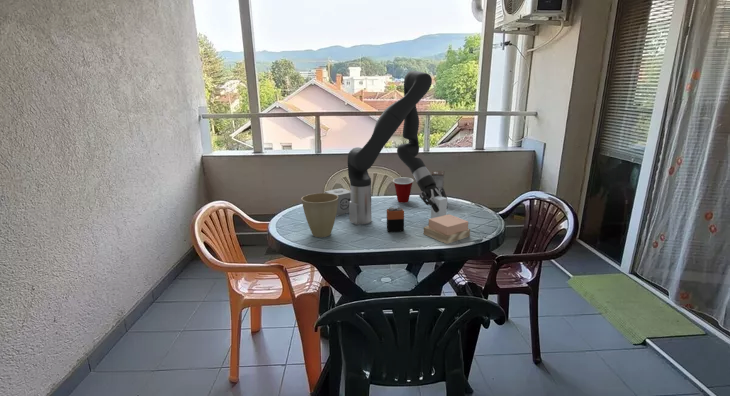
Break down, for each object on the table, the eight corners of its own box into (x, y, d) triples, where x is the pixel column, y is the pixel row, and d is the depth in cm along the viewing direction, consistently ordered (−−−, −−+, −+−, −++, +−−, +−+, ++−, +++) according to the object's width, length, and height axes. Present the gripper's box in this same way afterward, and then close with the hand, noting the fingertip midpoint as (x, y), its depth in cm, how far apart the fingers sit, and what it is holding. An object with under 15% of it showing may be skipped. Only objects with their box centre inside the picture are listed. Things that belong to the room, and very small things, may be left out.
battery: (386, 228, 160) (386, 206, 157) (402, 228, 161) (402, 205, 158) (388, 232, 156) (388, 209, 153) (404, 231, 156) (404, 209, 154)
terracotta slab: (447, 235, 144) (447, 226, 143) (428, 227, 153) (428, 219, 152) (467, 229, 149) (468, 221, 148) (448, 222, 158) (448, 214, 157)
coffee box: (431, 199, 201) (432, 170, 196) (443, 200, 200) (444, 170, 195) (430, 204, 192) (431, 174, 188) (443, 205, 191) (444, 174, 186)
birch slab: (446, 245, 143) (447, 236, 143) (423, 235, 154) (423, 227, 153) (469, 237, 151) (470, 229, 150) (445, 228, 161) (445, 220, 160)
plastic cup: (390, 203, 195) (390, 181, 192) (395, 198, 205) (395, 176, 202) (410, 205, 192) (411, 182, 188) (415, 199, 201) (415, 177, 198)
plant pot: (346, 236, 153) (344, 198, 148) (311, 244, 145) (309, 205, 141) (330, 225, 165) (329, 190, 161) (298, 232, 158) (296, 195, 154)
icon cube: (342, 206, 191) (341, 188, 188) (353, 211, 184) (352, 192, 181) (325, 210, 185) (324, 191, 183) (336, 215, 178) (335, 195, 175)
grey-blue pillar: (438, 221, 165) (439, 200, 162) (430, 218, 169) (431, 197, 166) (446, 219, 168) (447, 198, 165) (438, 216, 171) (439, 195, 169)
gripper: (416, 176, 165) (435, 209, 159) (439, 172, 173) (458, 203, 166) (408, 185, 170) (425, 217, 164) (430, 181, 178) (448, 211, 172)
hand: (442, 210), depth 165 cm, fingers closed on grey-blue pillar, 4 cm apart
